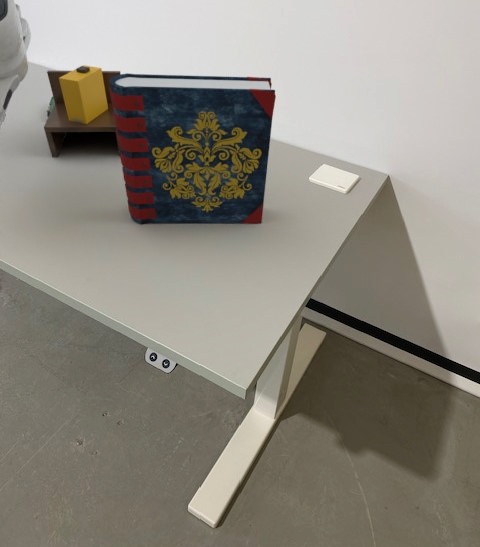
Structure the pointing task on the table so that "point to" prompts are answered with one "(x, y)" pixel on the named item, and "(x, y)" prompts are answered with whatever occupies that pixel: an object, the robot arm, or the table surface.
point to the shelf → (61, 124)
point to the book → (193, 146)
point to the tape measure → (84, 94)
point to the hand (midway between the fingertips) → (7, 94)
